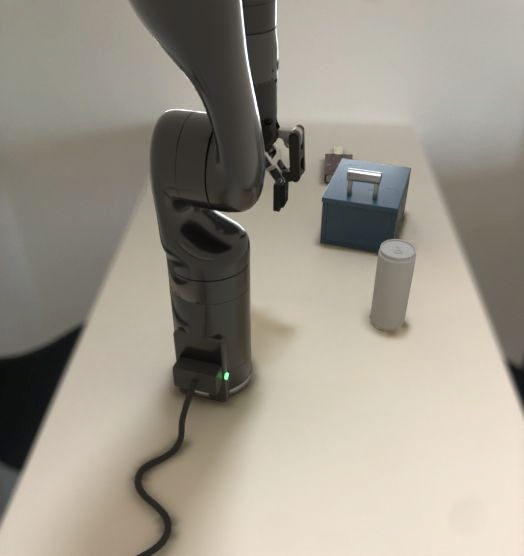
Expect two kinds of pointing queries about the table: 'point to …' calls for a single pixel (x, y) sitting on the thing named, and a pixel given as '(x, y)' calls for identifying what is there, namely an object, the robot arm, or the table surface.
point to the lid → (367, 185)
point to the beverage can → (392, 284)
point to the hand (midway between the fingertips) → (245, 203)
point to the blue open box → (360, 225)
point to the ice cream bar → (334, 162)
